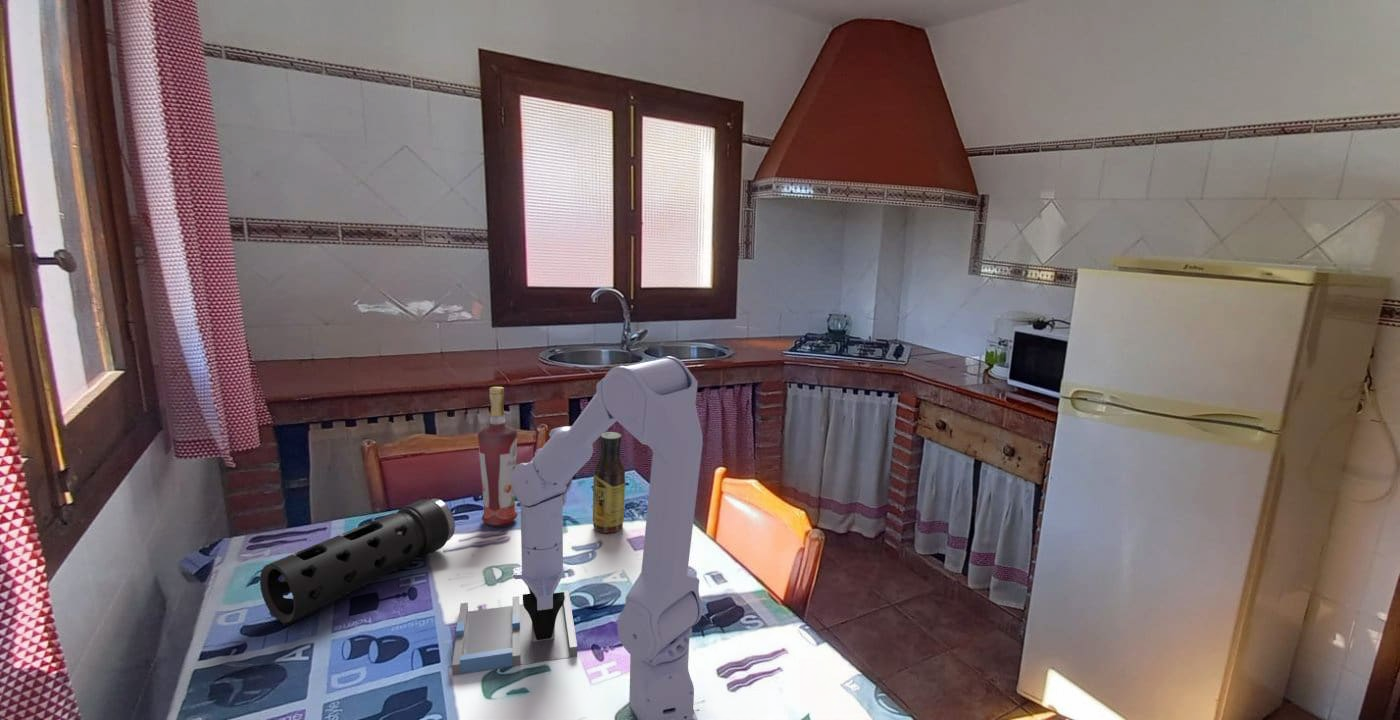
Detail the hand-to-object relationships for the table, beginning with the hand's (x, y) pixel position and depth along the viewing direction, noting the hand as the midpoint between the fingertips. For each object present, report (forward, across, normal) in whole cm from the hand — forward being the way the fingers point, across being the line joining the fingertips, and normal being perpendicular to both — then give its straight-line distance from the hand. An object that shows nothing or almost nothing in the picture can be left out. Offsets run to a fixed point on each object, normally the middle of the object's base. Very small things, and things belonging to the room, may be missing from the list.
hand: (543, 625), depth 89 cm
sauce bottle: (+2, -32, +14) cm, 35 cm away
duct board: (+2, 0, -4) cm, 4 cm away
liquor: (+2, -38, -7) cm, 39 cm away
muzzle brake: (+2, -20, -27) cm, 34 cm away
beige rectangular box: (+1, 0, 0) cm, 1 cm away
